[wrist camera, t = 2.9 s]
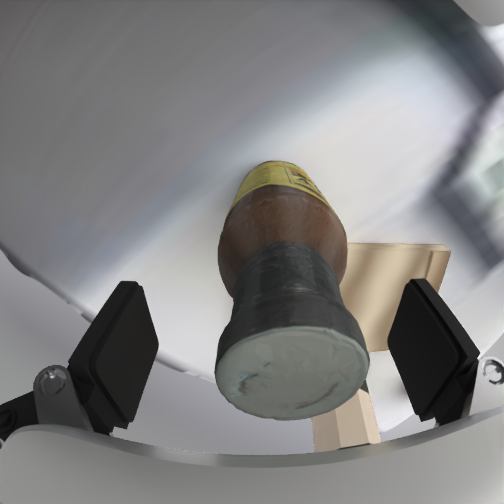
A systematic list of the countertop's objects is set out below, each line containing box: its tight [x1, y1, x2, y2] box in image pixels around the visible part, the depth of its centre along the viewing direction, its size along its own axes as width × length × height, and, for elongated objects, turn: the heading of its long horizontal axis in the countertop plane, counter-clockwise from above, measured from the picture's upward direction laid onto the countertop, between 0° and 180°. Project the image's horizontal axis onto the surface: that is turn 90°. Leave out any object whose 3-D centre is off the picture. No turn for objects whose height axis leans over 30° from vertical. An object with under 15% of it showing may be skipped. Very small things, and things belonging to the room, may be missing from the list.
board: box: [339, 243, 451, 352], centre depth 28 cm, size 22×14×2 cm, turn 91°
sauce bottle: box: [214, 161, 370, 421], centre depth 15 cm, size 6×6×20 cm
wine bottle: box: [312, 380, 381, 453], centre depth 22 cm, size 8×8×30 cm
